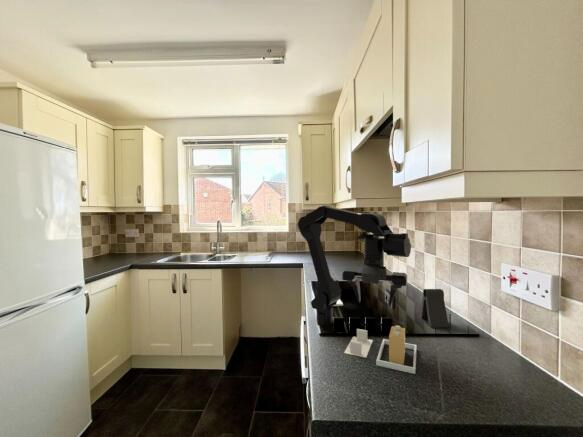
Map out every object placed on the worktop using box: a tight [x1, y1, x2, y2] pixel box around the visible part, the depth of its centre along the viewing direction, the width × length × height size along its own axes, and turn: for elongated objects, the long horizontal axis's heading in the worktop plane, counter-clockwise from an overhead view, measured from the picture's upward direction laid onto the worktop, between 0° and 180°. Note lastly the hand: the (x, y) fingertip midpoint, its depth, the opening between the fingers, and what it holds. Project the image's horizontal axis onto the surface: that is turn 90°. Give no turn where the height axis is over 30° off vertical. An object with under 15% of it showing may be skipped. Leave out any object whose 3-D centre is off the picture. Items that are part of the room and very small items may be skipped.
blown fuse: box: [388, 324, 406, 365], centre depth 72 cm, size 7×4×8 cm, turn 155°
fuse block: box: [343, 328, 374, 359], centre depth 78 cm, size 11×6×4 cm, turn 154°
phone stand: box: [418, 288, 450, 329], centre depth 97 cm, size 9×6×12 cm, turn 179°
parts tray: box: [375, 338, 417, 375], centre depth 73 cm, size 13×9×2 cm
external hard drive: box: [311, 297, 344, 307], centre depth 119 cm, size 2×8×12 cm
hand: (374, 304), depth 84 cm, fingers open, 9 cm apart
